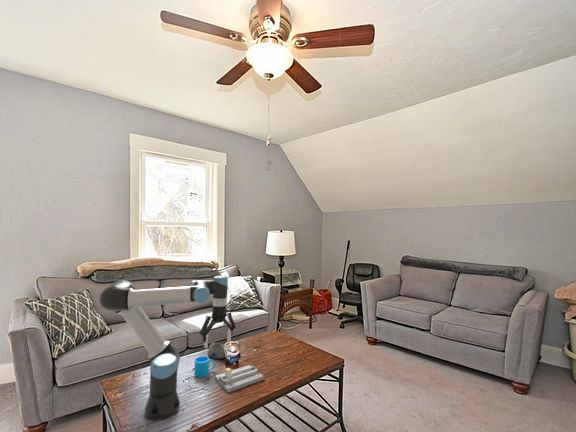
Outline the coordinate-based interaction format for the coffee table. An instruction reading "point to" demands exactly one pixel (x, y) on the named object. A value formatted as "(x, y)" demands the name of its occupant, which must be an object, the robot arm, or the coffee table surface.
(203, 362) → the mug
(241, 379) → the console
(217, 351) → the mineral rock
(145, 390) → the coffee table surface
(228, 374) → the fader tab
